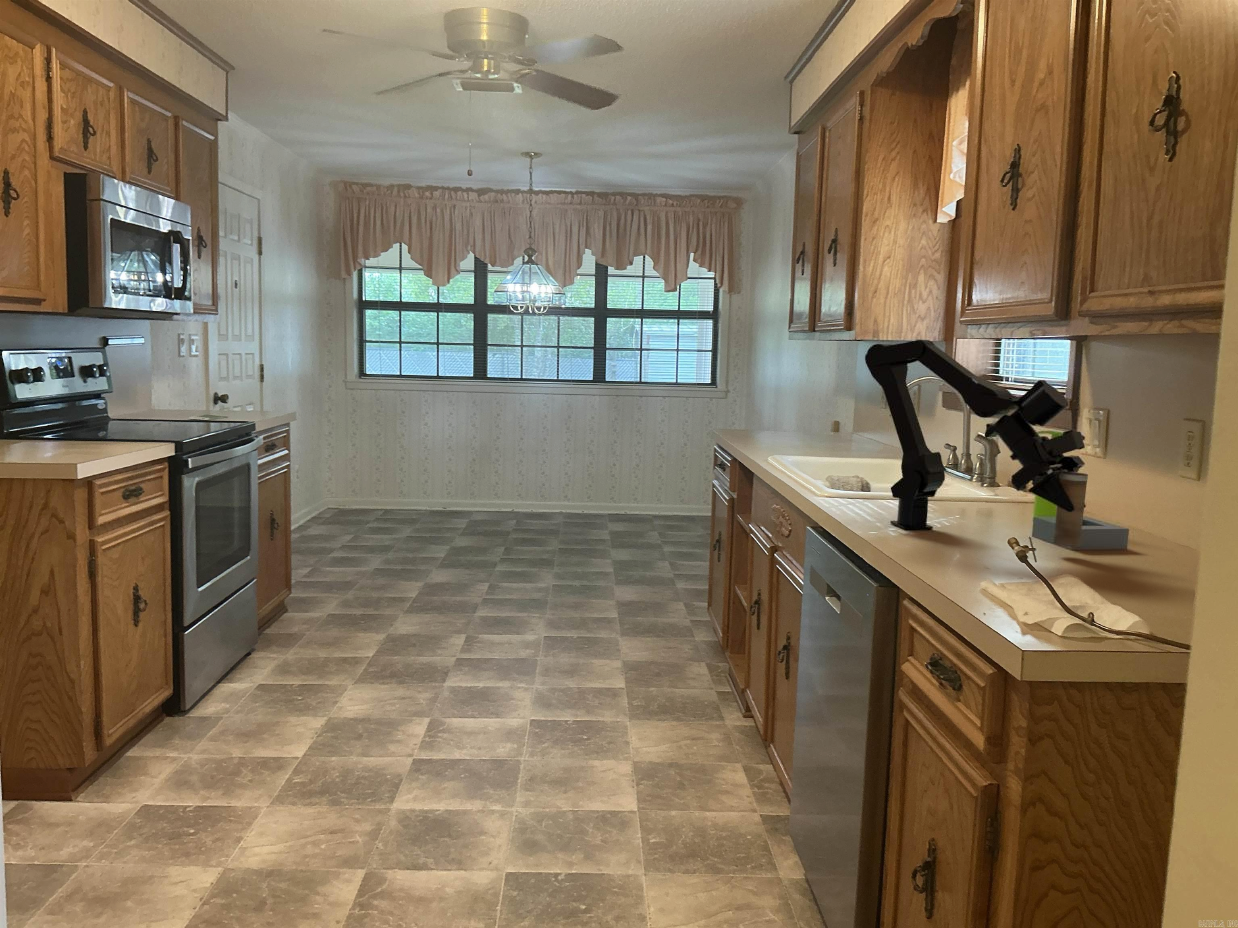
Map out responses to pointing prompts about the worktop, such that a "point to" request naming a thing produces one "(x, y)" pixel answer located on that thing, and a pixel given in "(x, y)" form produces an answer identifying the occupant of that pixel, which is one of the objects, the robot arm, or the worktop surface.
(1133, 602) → the worktop surface
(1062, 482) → the peg
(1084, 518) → the socket block
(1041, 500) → the soap dispenser
